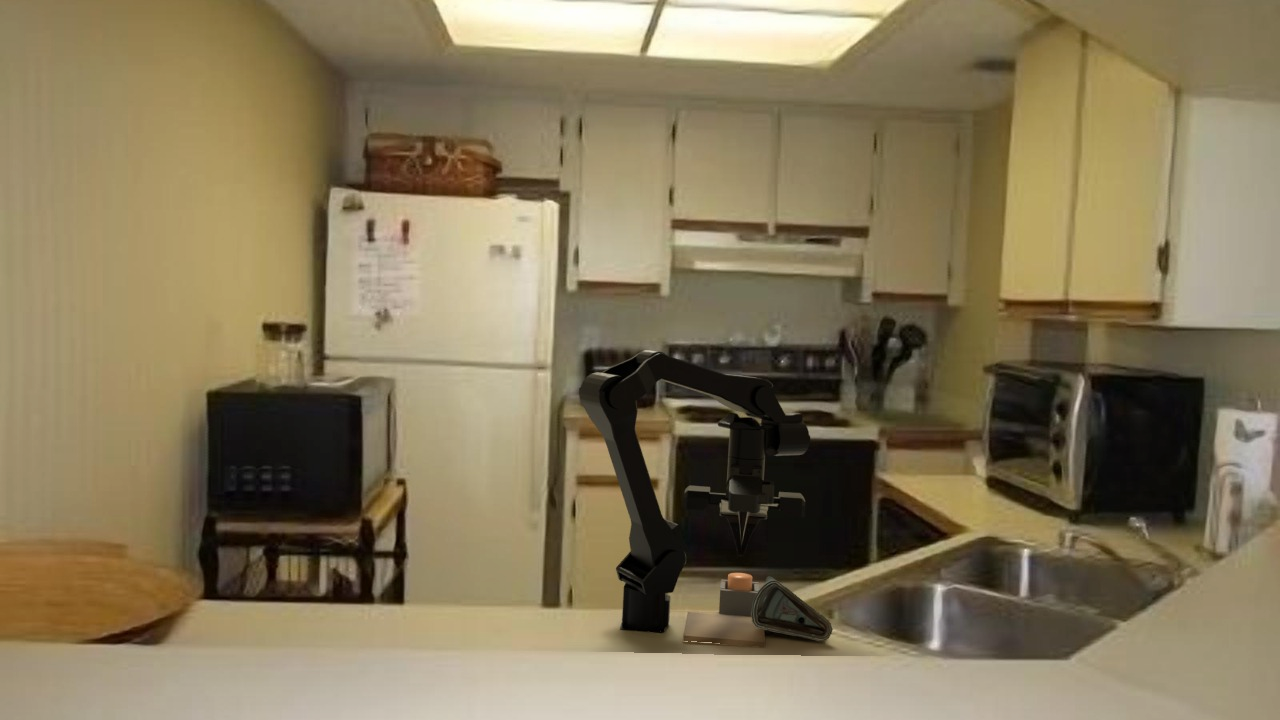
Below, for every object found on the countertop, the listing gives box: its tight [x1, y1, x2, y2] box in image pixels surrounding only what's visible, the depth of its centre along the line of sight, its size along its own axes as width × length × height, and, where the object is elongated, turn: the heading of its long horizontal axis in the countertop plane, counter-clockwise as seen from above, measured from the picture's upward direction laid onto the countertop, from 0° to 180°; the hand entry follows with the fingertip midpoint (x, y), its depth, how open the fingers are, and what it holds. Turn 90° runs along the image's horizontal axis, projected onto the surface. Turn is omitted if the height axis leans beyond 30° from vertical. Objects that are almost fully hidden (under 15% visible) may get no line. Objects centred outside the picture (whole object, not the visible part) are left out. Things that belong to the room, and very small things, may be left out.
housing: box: [718, 579, 760, 617], centre depth 154 cm, size 6×6×4 cm
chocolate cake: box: [751, 575, 834, 642], centre depth 145 cm, size 10×7×12 cm
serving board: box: [682, 611, 766, 648], centre depth 143 cm, size 12×11×1 cm
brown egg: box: [727, 572, 753, 591], centre depth 153 cm, size 4×4×4 cm
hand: (740, 555), depth 153 cm, fingers closed
